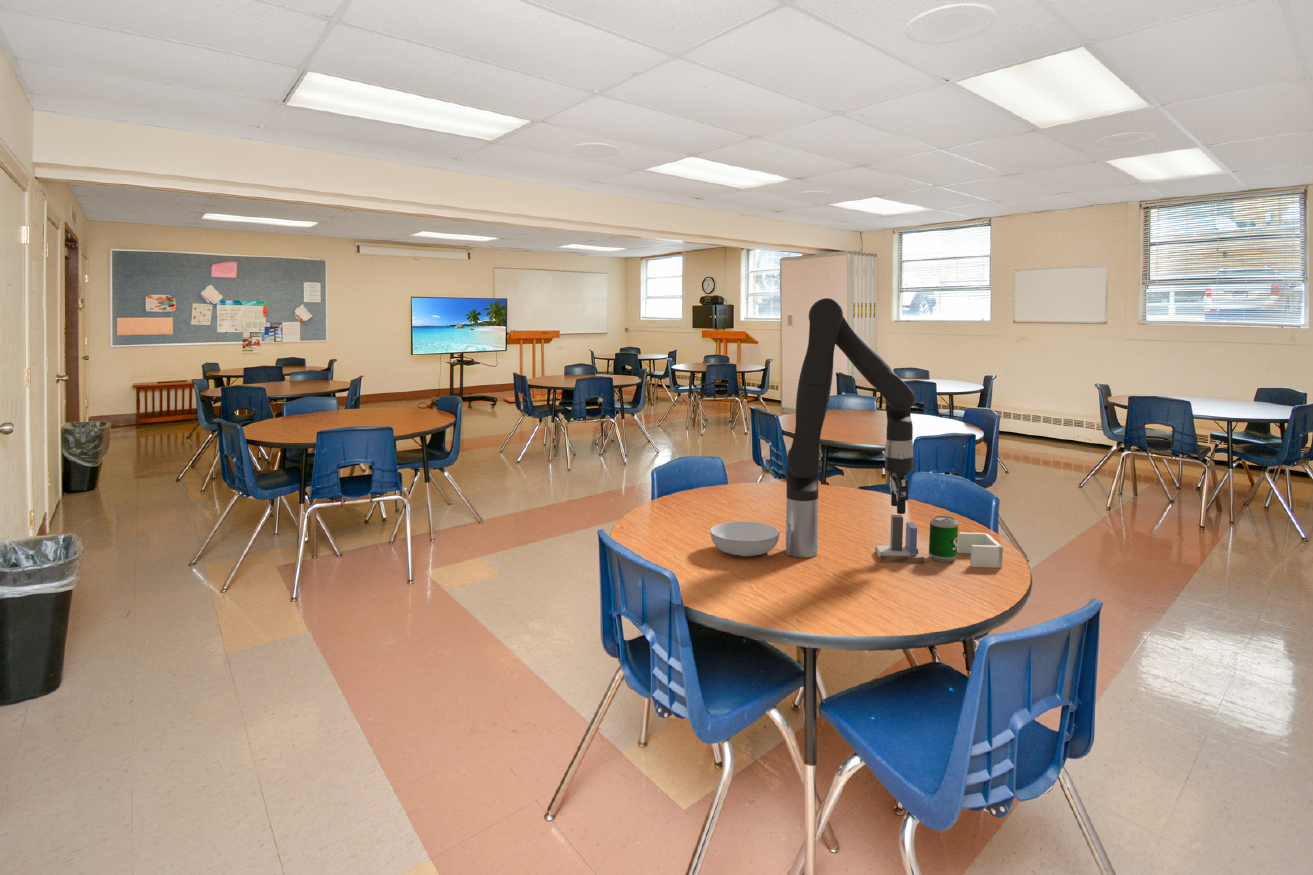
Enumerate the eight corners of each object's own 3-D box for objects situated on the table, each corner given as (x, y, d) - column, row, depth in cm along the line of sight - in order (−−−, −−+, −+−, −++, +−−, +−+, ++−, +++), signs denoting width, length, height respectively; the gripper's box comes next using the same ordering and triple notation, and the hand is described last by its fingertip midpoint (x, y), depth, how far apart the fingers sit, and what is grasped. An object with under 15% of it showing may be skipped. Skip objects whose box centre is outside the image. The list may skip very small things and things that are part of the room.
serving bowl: (778, 565, 191) (778, 542, 190) (706, 561, 196) (705, 539, 194) (780, 542, 211) (780, 521, 210) (714, 540, 216) (714, 519, 215)
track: (880, 561, 192) (880, 556, 192) (875, 551, 201) (875, 546, 201) (924, 562, 190) (924, 557, 190) (917, 552, 199) (917, 547, 199)
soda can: (948, 564, 189) (950, 523, 187) (923, 558, 194) (925, 518, 192) (961, 558, 193) (963, 518, 191) (936, 552, 199) (938, 513, 197)
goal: (971, 566, 187) (972, 546, 186) (957, 551, 199) (958, 532, 198) (1001, 567, 185) (1003, 546, 184) (986, 552, 198) (987, 533, 197)
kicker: (879, 558, 194) (881, 518, 192) (876, 551, 199) (877, 512, 198) (916, 559, 192) (917, 519, 190) (911, 552, 198) (912, 513, 196)
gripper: (881, 450, 199) (880, 503, 201) (890, 459, 185) (889, 516, 187) (907, 450, 198) (906, 503, 200) (918, 459, 184) (917, 516, 186)
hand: (898, 509), depth 194 cm, fingers open, 8 cm apart
